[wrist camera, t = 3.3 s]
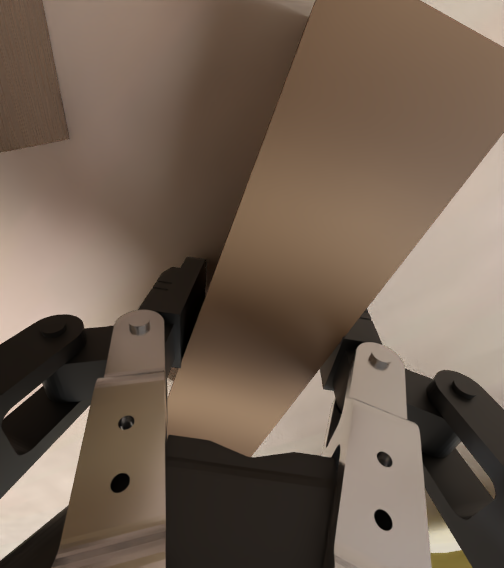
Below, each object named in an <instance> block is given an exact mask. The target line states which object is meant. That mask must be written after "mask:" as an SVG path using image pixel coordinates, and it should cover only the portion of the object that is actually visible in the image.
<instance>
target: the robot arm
mask: <svg viewBox="0 0 504 568" xmlns="http://www.w3.org/2000/svg"><path fill="white" fill-rule="evenodd" d="M206 266H207V262H206V259H200V258H193V257H187V258H186V259H185V261H184V263H183V264H182V266H181V268H176V267H171V268H169V269H168V270H166V271H165V272H163V273H162V274H161V276H160V277H159V279H158V280H157V282H156V283H155V285H154V286H153V289H151V291H150V292H149V294H148V295H147V297H146V298H145V300H144V301H143V303H142V304H141V306H140V307H139V309H138V310H135V311H131V312H128V313H126V314H124V315H122V316H121V317H120V318H118V320H117V321H116V322H115V324H114V326H108V327H98V328H86V329H84V325H83V322H82V320H81V319H79V318H78V317H76V316H73V315H54V316H50V317H47V318H44V319H41V320H39V321H37V322H36V323H34V324H32V325H31V326H29V327H27V328H26V329H24V330H23V331H21V332H20V333H18V334H16V335H15V336H13V337H12V338H10V339H8V340H7V341H5V342H4V343H2V344H0V499H1V498H2V497H3V496H4V495H5V493H6V492H7V491H8V490H9V489H10V488H11V487H12V486H13V485H14V484H15V483H16V482H17V481H18V480H19V479H20V478H21V477H22V476H23V475H24V474H25V473H26V472H27V470H28V469H29V468H30V467H31V466H32V465H33V464H34V463H35V462H36V461H37V460H38V459H39V458H40V457H41V456H42V455H43V454H44V453H45V452H46V451H47V450H48V448H49V447H50V446H51V445H52V444H53V443H54V442H55V441H56V440H57V439H58V438H59V437H60V436H61V435H62V434H63V433H64V432H65V431H66V430H67V429H68V428H69V427H70V425H71V424H72V423H73V422H74V421H75V420H76V419H77V418H78V417H79V416H80V415H81V414H82V413H83V412H84V411H85V410H86V409H87V408H88V407H89V406H90V410H89V414H88V419H87V423H86V428H85V433H84V437H83V442H82V446H81V451H80V455H79V460H78V465H77V469H76V474H75V478H74V483H73V488H72V492H71V497H70V501H69V505H68V506H67V507H66V508H65V509H63V510H62V511H61V512H60V513H58V514H57V515H56V516H55V517H54V518H52V519H51V520H50V521H49V522H47V523H46V524H45V525H44V526H42V527H41V528H40V529H39V530H38V531H36V532H35V533H34V534H33V535H31V536H30V537H29V538H28V539H26V540H25V541H24V542H23V543H21V544H20V545H19V546H18V547H17V548H15V549H14V550H13V551H12V552H10V553H9V554H8V555H7V556H5V557H4V558H3V559H2V560H1V561H0V568H432V566H431V555H430V543H429V532H428V520H427V508H426V497H425V489H426V491H427V492H428V494H429V496H430V497H431V499H432V501H433V502H434V504H435V506H436V507H437V509H438V511H439V513H440V514H441V516H442V518H443V519H444V521H445V523H446V524H447V526H448V528H449V529H450V531H451V533H452V534H453V536H454V538H455V539H456V541H457V543H458V544H459V546H460V548H461V549H462V551H463V553H464V554H465V556H466V558H467V559H468V561H469V563H470V564H471V566H472V568H504V409H503V408H502V407H501V406H500V405H499V404H498V403H497V402H496V401H495V400H494V399H493V398H492V397H491V396H490V395H489V394H488V393H487V392H486V391H485V390H484V389H483V388H482V387H481V386H480V385H479V384H477V383H476V382H475V381H473V380H472V379H470V378H469V377H467V376H465V375H463V374H460V373H458V372H454V371H450V370H443V371H440V372H438V373H437V374H436V375H435V377H434V378H433V379H431V378H428V377H425V376H423V375H420V374H417V373H415V372H412V371H410V370H407V369H405V367H404V363H403V361H402V360H401V358H400V357H399V356H398V355H397V354H396V353H395V352H394V351H393V350H391V349H389V348H388V347H386V346H384V345H382V343H381V340H380V338H379V336H378V333H377V331H376V329H375V326H374V324H373V322H372V321H371V317H370V315H369V313H368V310H367V309H366V310H365V311H364V312H363V314H362V315H361V316H360V318H359V319H358V320H357V321H356V323H355V324H354V325H353V327H352V328H351V329H350V330H349V332H348V333H347V334H346V336H345V337H343V338H342V340H341V342H340V343H339V344H338V346H337V347H336V348H335V350H334V351H333V352H332V353H331V355H330V356H329V357H328V359H327V360H326V361H325V362H324V364H323V365H322V366H321V368H320V372H321V378H322V384H323V389H325V390H332V391H334V393H335V399H334V401H333V403H332V406H331V411H330V416H329V420H328V425H327V430H326V435H325V439H324V444H323V449H322V453H321V456H317V455H310V454H303V453H296V452H292V453H285V454H277V455H270V456H263V457H254V458H252V457H248V456H245V455H243V454H240V453H238V452H236V451H233V450H231V449H229V448H226V447H224V446H222V445H219V444H217V443H215V442H213V441H210V440H204V439H197V438H190V437H183V436H176V435H169V436H168V399H167V377H168V375H169V372H170V370H171V367H175V368H181V362H182V359H183V356H184V353H185V351H186V348H187V345H188V342H189V340H190V337H191V334H192V331H193V329H194V326H195V323H196V320H197V318H198V315H199V312H200V310H201V307H202V304H203V301H204V299H205V288H206ZM41 383H42V384H43V386H42V387H41V388H40V389H39V390H38V391H36V392H35V393H34V394H33V395H32V396H30V397H29V398H28V399H27V400H26V401H25V402H23V403H22V404H21V405H20V406H19V407H17V408H16V409H15V410H14V411H13V412H11V413H10V414H9V415H8V416H7V417H5V415H6V414H7V412H8V411H9V410H10V409H11V408H12V407H13V406H14V405H16V404H17V403H18V402H19V401H21V400H22V399H23V398H24V397H25V396H27V395H28V394H29V393H30V392H31V391H33V390H34V389H35V388H36V387H37V386H39V385H40V384H41ZM4 417H5V418H4ZM3 418H4V419H3ZM461 441H462V442H463V444H464V445H465V446H466V448H467V449H468V450H469V451H470V453H471V454H472V455H473V457H474V458H475V459H476V460H477V462H478V463H479V464H480V466H481V467H482V468H483V469H484V471H485V472H486V473H487V475H488V476H489V477H490V479H491V480H492V482H493V484H494V487H495V491H496V496H495V499H493V498H492V497H491V495H490V494H489V493H488V491H487V490H486V489H485V487H484V486H483V485H482V483H481V482H480V481H479V479H478V478H477V477H476V475H475V474H474V473H473V471H472V470H471V469H470V467H469V466H468V465H467V463H466V462H465V461H464V459H463V458H462V457H461V455H460V454H459V453H458V451H457V450H456V448H455V447H456V446H457V445H458V444H459V443H460V442H461Z"/></svg>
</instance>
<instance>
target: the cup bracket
mask: <svg viewBox="0 0 504 568" xmlns="http://www.w3.org/2000/svg"><path fill="white" fill-rule="evenodd" d="M67 139H69V135H68V130H67V125H66V120H65V115H64V110H63V104H62V99H61V94H60V89H59V84H58V79H57V74H56V69H55V64H54V59H53V54H52V49H51V43H50V38H49V33H48V28H47V23H46V18H45V13H44V8H43V3H42V0H0V153H1V152H6V151H11V150H16V149H21V148H26V147H31V146H37V145H42V144H47V143H52V142H57V141H62V140H67Z"/></svg>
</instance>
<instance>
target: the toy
mask: <svg viewBox="0 0 504 568" xmlns="http://www.w3.org/2000/svg"><path fill="white" fill-rule="evenodd" d="M430 555H431V566H432V568H472V566H471V564H470V563H469V561H468V559H467V558H466V556H465V554H464V553H463V551H462V550H460V551H454V552H448V553H430Z"/></svg>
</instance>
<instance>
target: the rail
mask: <svg viewBox="0 0 504 568" xmlns="http://www.w3.org/2000/svg"><path fill="white" fill-rule="evenodd" d="M503 133H504V47H502V46H500V45H499V44H497V43H495V42H493V41H492V40H490V39H488V38H486V37H484V36H483V35H481V34H479V33H477V32H476V31H474V30H472V29H470V28H468V27H467V26H465V25H463V24H461V23H459V22H458V21H456V20H454V19H452V18H451V17H449V16H447V15H445V14H443V13H442V12H440V11H438V10H436V9H435V8H433V7H431V6H429V5H427V4H426V3H424V2H422V1H420V0H316V1H315V3H314V6H313V8H312V11H311V14H310V16H309V19H308V21H307V24H306V27H305V30H304V32H303V35H302V38H301V40H300V43H299V46H298V48H297V51H296V54H295V56H294V59H293V62H292V64H291V67H290V70H289V73H288V75H287V78H286V81H285V83H284V86H283V89H282V91H281V94H280V97H279V99H278V102H277V105H276V107H275V110H274V113H273V116H272V118H271V121H270V124H269V126H268V129H267V132H266V134H265V137H264V140H263V142H262V145H261V148H260V151H259V153H258V156H257V159H256V161H255V164H254V167H253V169H252V172H251V175H250V177H249V180H248V183H247V185H246V188H245V191H244V194H243V196H242V199H241V202H240V204H239V207H238V210H237V212H236V215H235V218H234V220H233V223H232V226H231V228H230V231H229V234H228V237H227V239H226V242H225V245H224V247H223V250H222V253H221V255H220V258H219V261H218V263H217V266H216V269H215V272H214V274H213V277H212V280H211V282H210V285H209V288H208V290H207V293H206V296H205V299H204V301H203V304H202V307H201V310H200V312H199V315H198V318H197V320H196V323H195V326H194V329H193V331H192V334H191V337H190V340H189V342H188V345H187V348H186V351H185V353H184V356H183V359H182V362H181V368H178V371H177V374H176V376H175V379H174V382H173V384H172V387H171V390H170V393H169V395H168V398H167V399H168V436H169V435H176V436H183V437H190V438H197V439H204V440H210V441H213V442H215V443H217V444H219V445H222V446H224V447H226V448H229V449H231V450H233V451H236V452H238V453H240V454H243V455H245V456H248V457H251V456H252V455H253V454H254V452H255V451H256V450H257V448H258V447H259V446H260V445H261V443H262V442H263V441H264V439H265V438H266V437H267V436H268V434H269V433H270V432H271V430H272V429H273V428H274V427H275V425H276V424H277V423H278V421H279V420H280V419H281V418H282V416H283V415H284V414H285V413H286V411H287V410H288V409H289V407H290V406H291V405H292V404H293V402H294V401H295V400H296V398H297V397H298V396H299V395H300V393H301V392H302V391H303V389H304V388H305V387H306V386H307V384H308V383H309V382H310V380H311V379H312V378H313V377H314V375H315V374H316V373H317V371H318V370H319V369H320V368H321V366H322V365H323V364H324V362H325V361H326V360H327V359H328V357H329V356H330V355H331V353H332V352H333V351H334V350H335V348H336V347H337V346H338V344H339V343H340V342H341V340H342V338H343V337H345V336H346V334H347V333H348V332H349V330H350V329H351V328H352V327H353V325H354V324H355V323H356V321H357V320H358V319H359V318H360V316H361V315H362V314H363V312H364V311H365V310H366V309H367V307H368V306H369V305H370V303H371V302H372V301H373V300H374V298H375V297H376V296H377V294H378V293H379V292H380V291H381V289H382V288H383V287H384V285H385V284H386V283H387V282H388V280H389V279H390V278H391V276H392V275H393V274H394V273H395V271H396V270H397V269H398V267H399V266H400V265H401V264H402V262H403V261H404V260H405V259H406V257H407V256H408V255H409V253H410V252H411V251H412V250H413V248H414V247H415V246H416V244H417V243H418V242H419V241H420V239H421V238H422V237H423V235H424V234H425V233H426V232H427V230H428V229H429V228H430V226H431V225H432V224H433V223H434V221H435V220H436V219H437V217H438V216H439V215H440V214H441V212H442V211H443V210H444V208H445V207H446V206H447V205H448V203H449V202H450V201H451V199H452V198H453V197H454V196H455V194H456V193H457V192H458V190H459V189H460V188H461V187H462V185H463V184H464V183H465V182H466V180H467V179H468V178H469V176H470V175H471V174H472V173H473V171H474V170H475V169H476V167H477V166H478V165H479V164H480V162H481V161H482V160H483V158H484V157H485V156H486V155H487V153H488V152H489V151H490V149H491V148H492V147H493V146H494V144H495V143H496V142H497V140H498V139H499V138H500V137H501V135H502V134H503Z"/></svg>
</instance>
